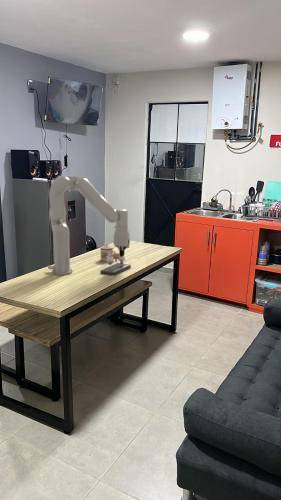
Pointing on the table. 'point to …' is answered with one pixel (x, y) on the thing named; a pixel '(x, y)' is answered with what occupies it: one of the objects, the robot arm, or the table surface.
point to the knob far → (121, 259)
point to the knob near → (110, 259)
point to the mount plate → (115, 269)
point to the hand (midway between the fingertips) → (121, 255)
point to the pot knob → (116, 256)
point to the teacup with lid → (106, 252)
